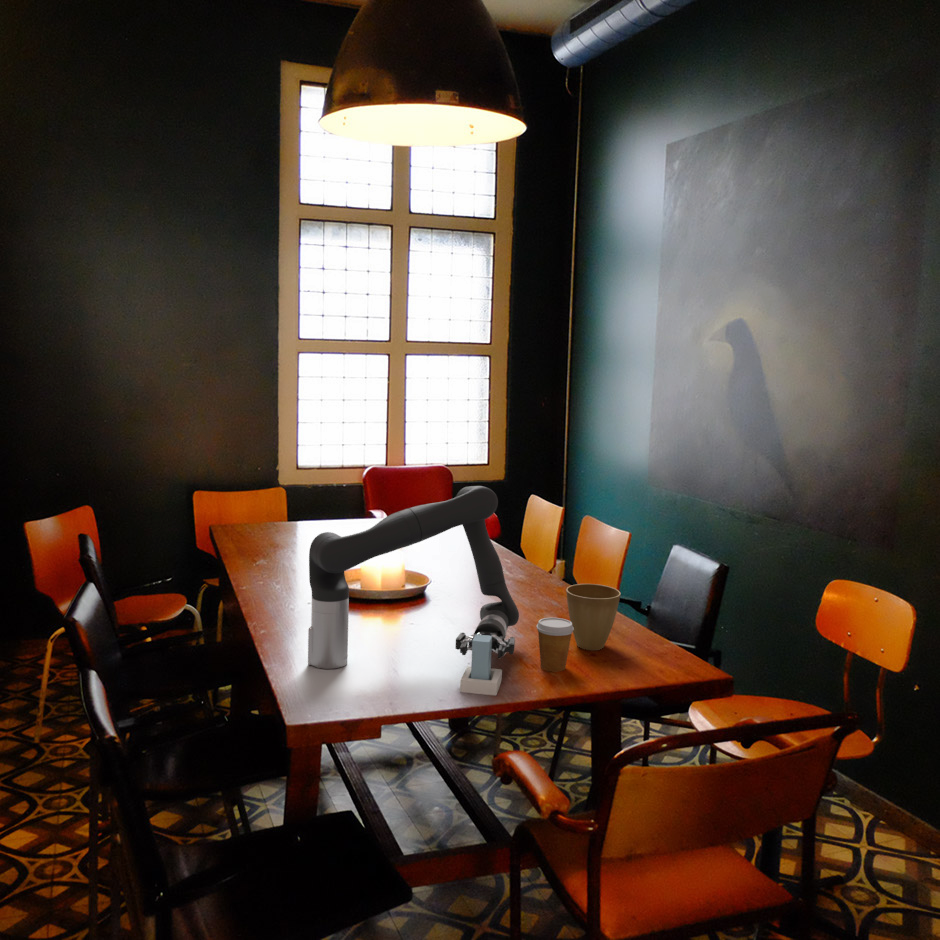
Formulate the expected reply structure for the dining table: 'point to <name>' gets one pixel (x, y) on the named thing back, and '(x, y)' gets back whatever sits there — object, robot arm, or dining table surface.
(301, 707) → the dining table surface
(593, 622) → the plant pot
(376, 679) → the dining table surface
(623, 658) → the dining table surface
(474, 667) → the blue-grey rectangular block
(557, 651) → the disposable coffee cup
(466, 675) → the end cap
